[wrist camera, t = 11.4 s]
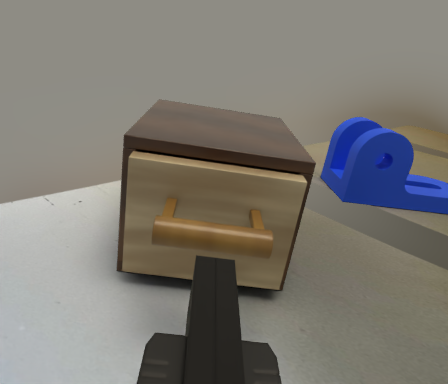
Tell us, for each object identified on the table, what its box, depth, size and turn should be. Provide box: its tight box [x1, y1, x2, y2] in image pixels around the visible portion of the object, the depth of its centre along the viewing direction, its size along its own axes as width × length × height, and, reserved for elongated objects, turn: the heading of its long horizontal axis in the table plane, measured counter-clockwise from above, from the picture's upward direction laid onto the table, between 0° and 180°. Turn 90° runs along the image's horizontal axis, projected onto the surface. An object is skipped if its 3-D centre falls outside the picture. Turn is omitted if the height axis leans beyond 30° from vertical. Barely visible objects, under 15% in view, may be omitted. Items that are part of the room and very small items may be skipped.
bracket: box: [321, 117, 448, 214], centre depth 47 cm, size 18×8×9 cm, turn 94°
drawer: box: [122, 151, 307, 290], centre depth 26 cm, size 17×10×8 cm, turn 0°
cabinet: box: [117, 100, 316, 290], centre depth 30 cm, size 14×12×10 cm
